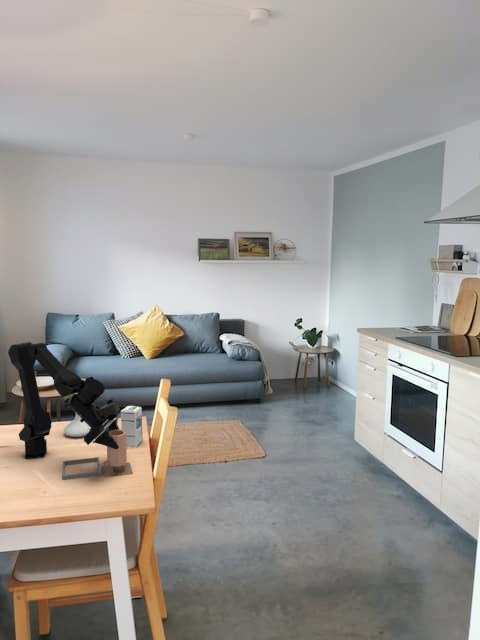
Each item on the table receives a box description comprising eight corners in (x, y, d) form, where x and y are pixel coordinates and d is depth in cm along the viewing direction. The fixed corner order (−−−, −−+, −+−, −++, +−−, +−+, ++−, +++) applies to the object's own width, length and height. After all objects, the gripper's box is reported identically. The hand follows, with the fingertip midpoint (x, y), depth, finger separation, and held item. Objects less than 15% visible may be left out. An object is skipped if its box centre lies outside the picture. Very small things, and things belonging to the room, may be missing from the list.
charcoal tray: (62, 483, 156) (62, 476, 155) (63, 467, 166) (62, 461, 166) (100, 478, 159) (100, 471, 159) (98, 463, 170) (98, 457, 169)
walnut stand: (103, 480, 158) (103, 465, 157) (102, 468, 166) (101, 454, 165) (133, 476, 160) (132, 461, 160) (130, 465, 169) (129, 450, 168)
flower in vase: (86, 426, 204) (84, 366, 201) (99, 434, 196) (98, 371, 192) (54, 434, 195) (52, 371, 192) (67, 442, 187) (64, 377, 184)
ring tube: (120, 457, 167) (120, 428, 165) (129, 463, 162) (128, 433, 161) (100, 463, 162) (100, 433, 161) (108, 469, 158) (108, 438, 156)
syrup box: (136, 450, 181) (136, 411, 179) (121, 448, 182) (120, 410, 180) (142, 444, 187) (142, 406, 185) (127, 442, 188) (127, 405, 186)
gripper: (92, 402, 151) (129, 439, 151) (113, 385, 169) (145, 418, 170) (67, 426, 152) (104, 463, 153) (90, 407, 171) (123, 439, 171)
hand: (120, 444), depth 162 cm, fingers closed on ring tube, 6 cm apart
